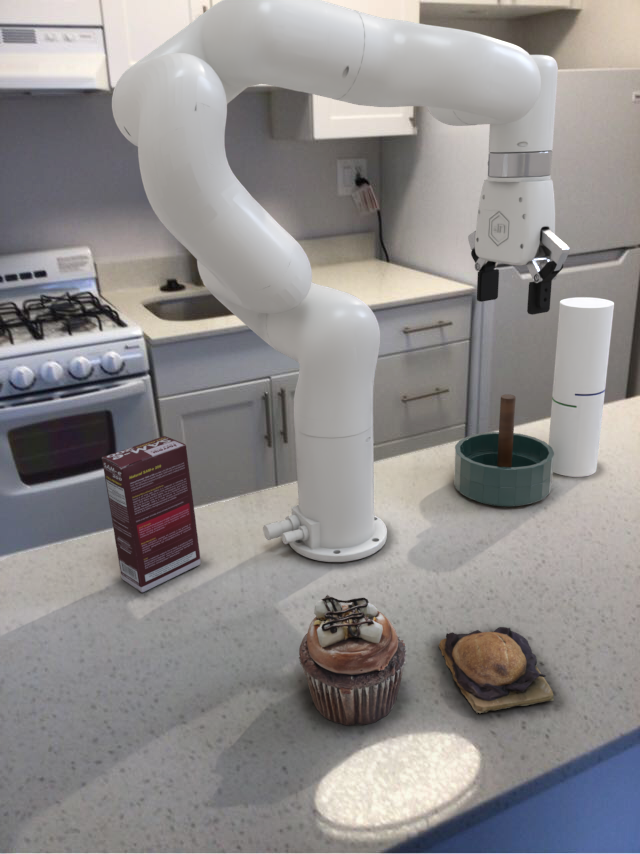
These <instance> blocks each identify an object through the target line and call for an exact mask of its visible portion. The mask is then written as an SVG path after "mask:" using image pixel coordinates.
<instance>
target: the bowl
mask: <svg viewBox="0 0 640 854" xmlns="http://www.w3.org/2000/svg"><path fill="white" fill-rule="evenodd" d="M498 439H499V431H489V432H479V433H475V434H471V435H468V436H465V437H464V438H462V439H460V440H458V442H457V443H456V444H455V445H454V467H453V468H454V469H453V472H454V473H453V485H454V488H455V489H456V490H457V492H458V493H460V494H462V495H463V496H464V497H466V498H468V499H469V500H472V501H475V502H478V503H481V504H484V505H489V506H493V507H508V508H510V507H512V508H513V507H521V506H527V505H530V504H531V505H532V504H534V503H537V502H541V501H542V500H544V499H545V498H547V497H548V496H549V495H550V493H551V490H552V486H553V476H554V475H553V474H554V472H553V463H554V452H553V449H552V447H551V446H549V443H547V442H545V441H544V440H542V439H540V438H537V437H534V436H531V435H526V434H523V433H516V432H514V435H513V451H512V467H497V458H498Z"/></svg>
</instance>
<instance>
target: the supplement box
mask: <svg viewBox="0 0 640 854" xmlns="http://www.w3.org/2000/svg"><path fill="white" fill-rule="evenodd" d="M187 450H188V449H187V445H186V443H184V442H181V441H179V440H176V439H175V438H171V437H169V436H166V435H163V436H159V437H157V438H153V439H151V440H147V441H145V442H142V443H140V444H137V445H134V446H130V447H127V448H125V449H122V450H119V451H117V452H114V453H110V454H108V455H104V456H102V457H101V461H102V467H103V474H104V479H105V486H106V492H107V499H108V505H109V510H110V516H111V522H112V528H113V535H114V541H115V546H116V547H115V548H116V554H117V558H118V559H117V560H118V567H119V571H120V577H121V580H123V581H124V582H126V583H127V584H129V585H130V586H131V587H133V588H134V589H136V590H137V591H139V592H140V593H145V592H147V591H149V590H151V589H153V588H155V587H157V586H159V585H161V584H163V583H165V582H167V581H169V580H171V579H173V578H175V577H177V576H179V575H181V574H183V573H185V572H187V571H189V570H191V569H193V568H197V567H198V566H200V565H201V563H202V561H201V553H200V545H199V537H198V527H197V521H196V512H195V505H194V497H193V489H192V482H191V473H190V466H189V457H188V451H187Z"/></svg>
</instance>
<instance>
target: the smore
mask: <svg viewBox="0 0 640 854" xmlns="http://www.w3.org/2000/svg"><path fill="white" fill-rule="evenodd" d="M438 648H439V649H440V651H441V656H444V658H442V659H444V660H445V665H446V666H447V668H448V669H450V672H451V674H452V675H451V676H452V679H453V680H454V682H455V683H456V685H457V687H459V689H460V692H461V693H462V695H463V696H464V697H465V699H467V701H468V703H469V704H470V706H471V707H472V709H473V710H474V711H475V713H476V714H478V713H479V714H481V713H488V712H489V711H494V712H495V711H497V710H502V709H507V708H508V709H509V708H513V707H517V706H519V707H523V706H529V705H534V704H538V703H544V702H550V701H551V702H552V701H555V698H554V692H553V690H552V688H551V687H550V685H549V683H548V682H547V680H546V679H545V677H547V675H546V674H543V673H541V671H540V669H539V667H538V666H537V663H538V660H537V656H536V654H534V653H533V650H532V647H531V645H530V644H529V641H528V639H526V638H525V636H524V635H521V634H519V633H518V632H515V631H513V630H511V627H505V626H499V627H497V628H495V629H494V630H493V631H483V632H482V631H481V630H479V629H477V630H474V631H471V632H469V633H455V632H449V633H448V632H446V635H445V638H443V639H441V640H440V641H439V644H438Z"/></svg>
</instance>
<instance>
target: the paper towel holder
mask: <svg viewBox="0 0 640 854" xmlns="http://www.w3.org/2000/svg"><path fill="white" fill-rule="evenodd" d="M516 399H517V397H516V395H514V394H510V393H509V394H508V393H505V394H502V395H500V401H499V402H500V404H499V423H498V432H499V439H498V458H497V467H512V451H513V435H514V433H515V418H516V417H515V415H516V401H517V400H516Z"/></svg>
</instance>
